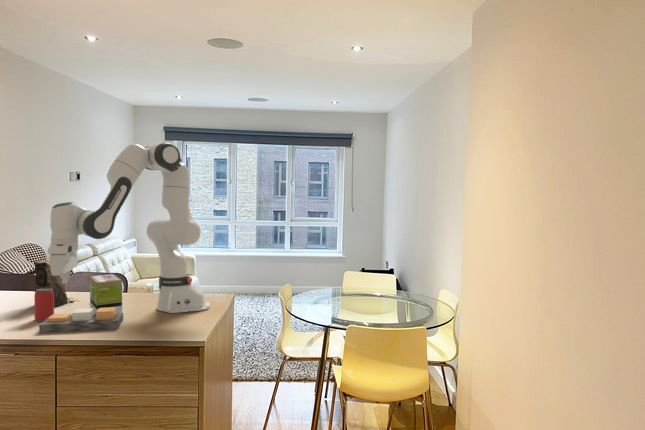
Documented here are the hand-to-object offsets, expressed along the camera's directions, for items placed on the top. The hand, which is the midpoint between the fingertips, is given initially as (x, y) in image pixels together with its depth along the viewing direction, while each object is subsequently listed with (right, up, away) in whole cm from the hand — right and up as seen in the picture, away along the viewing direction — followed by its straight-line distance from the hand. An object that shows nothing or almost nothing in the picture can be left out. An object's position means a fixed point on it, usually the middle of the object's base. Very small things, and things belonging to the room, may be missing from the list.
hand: (65, 283), depth 173 cm
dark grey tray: (+6, -17, +2) cm, 18 cm away
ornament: (-3, -14, +45) cm, 47 cm away
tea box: (+5, -16, +22) cm, 28 cm away
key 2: (+13, -14, +4) cm, 20 cm away
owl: (-24, -15, +32) cm, 42 cm away
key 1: (-2, -16, 0) cm, 16 cm away
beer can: (-14, -16, +10) cm, 24 cm away
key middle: (+6, -14, +2) cm, 15 cm away
